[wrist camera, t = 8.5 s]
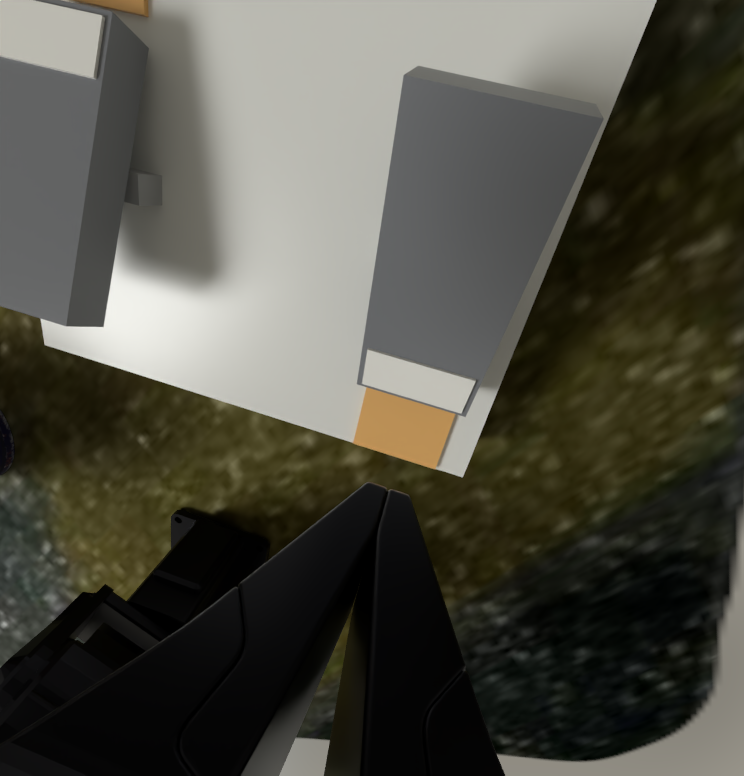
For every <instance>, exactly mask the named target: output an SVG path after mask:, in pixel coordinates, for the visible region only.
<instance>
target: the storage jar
mask: <svg viewBox="0 0 744 776" xmlns="http://www.w3.org/2000/svg"><path fill="white" fill-rule="evenodd" d="M14 452H15V450H14V441H13V437H12V433H11V430H10V428H9V425H8V423H7V421H6V419H5V417H4V415H3V413H2V411H1V410H0V475H2V474H3V473H5V472H6V471H7V470H8V469H9V468H10V466H11V465H12V462H13V459H14Z"/></svg>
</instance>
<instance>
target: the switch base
mask: <svg viewBox="0 0 744 776" xmlns="http://www.w3.org/2000/svg"><path fill="white" fill-rule="evenodd" d="M62 1H66V2H71V3H75V4H80V5H85V6H89V7H94V8H98V9H103V10H107V11H112V12H113V13H114V14H115V15H116V16H117V17H118V18H119V19H120V20H121V21H122V22H123V23H124V24H125V25H126V26H127V27H128V28H129V29H130V30H131V31H132V32H133V33H134V34H135V35H136V36H137V37H138V38H139V39H140V40H141V41H142V42H143V43H144V44H145V45H146V46H147V47H148V48H149V51H148V58H147V64H146V70H145V76H144V82H143V88H142V94H141V100H140V107H139V113H138V119H137V125H136V131H135V137H134V143H133V149H132V156H131V162H130V168H129V174H128V180H127V186H126V192H125V198H124V205H123V211H122V217H121V223H120V229H119V235H118V241H117V247H116V254H115V260H114V266H113V272H112V278H111V284H110V290H109V296H108V303H107V309H106V315H105V321H104V327H70V326H63V325H60V324H57V323H53V322H50V321H47V320H44V319H41V325H42V331H43V338H44V344H45V345H46V346H50V347H53V348H56V349H59V350H62V351H65V352H69V353H72V354H75V355H78V356H81V357H84V358H87V359H91V360H94V361H97V362H100V363H103V364H106V365H110V366H113V367H116V368H119V369H122V370H125V371H129V372H132V373H135V374H138V375H141V376H144V377H147V378H151V379H154V380H157V381H160V382H163V383H166V384H170V385H173V386H176V387H179V388H182V389H185V390H188V391H192V392H195V393H198V394H201V395H204V396H207V397H211V398H214V399H217V400H220V401H223V402H226V403H230V404H233V405H236V406H239V407H242V408H245V409H248V410H252V411H255V412H258V413H261V414H264V415H267V416H271V417H274V418H277V419H280V420H283V421H286V422H289V423H293V424H296V425H299V426H302V427H305V428H308V429H312V430H315V431H318V432H321V433H324V434H327V435H330V436H334V437H337V438H340V439H343V440H346V441H349V442H353V444H356V445H360V446H363V447H366V448H369V449H372V450H375V451H378V452H382V453H385V454H388V455H391V456H394V457H397V458H401V459H404V460H407V461H410V462H413V463H416V464H419V465H423V466H426V467H429V468H432V469H438V470H441V471H444V472H447V473H450V474H454V475H457V476H460V477H463V476H464V473H465V471H466V468H467V466H468V463H469V461H470V458H471V456H472V453H473V451H474V449H475V446H476V444H477V441H478V439H479V436H480V434H481V431H482V429H483V426H484V424H485V422H486V419H487V417H488V414H489V412H490V409H491V407H492V404H493V402H494V399H495V397H496V394H497V392H498V390H499V387H500V385H501V382H502V380H503V377H504V375H505V372H506V370H507V367H508V365H509V362H510V360H511V358H512V355H513V353H514V350H515V348H516V345H517V343H518V340H519V338H520V335H521V333H522V331H523V328H524V326H525V323H526V321H527V318H528V316H529V313H530V311H531V308H532V306H533V303H534V301H535V299H536V296H537V294H538V291H539V289H540V286H541V284H542V281H543V279H544V276H545V274H546V271H547V269H548V267H549V264H550V262H551V259H552V257H553V254H554V252H555V249H556V247H557V244H558V242H559V240H560V237H561V235H562V232H563V230H564V227H565V225H566V222H567V220H568V217H569V215H570V212H571V210H572V208H573V205H574V203H575V200H576V198H577V195H578V193H579V190H580V188H581V185H582V183H583V180H584V178H585V176H586V173H587V171H588V168H589V166H590V163H591V161H592V158H593V156H594V153H595V151H596V149H597V146H598V144H599V141H600V139H601V136H602V134H603V131H604V129H605V126H606V124H607V121H608V119H609V117H610V114H611V112H612V109H613V107H614V104H615V102H616V99H617V97H618V94H619V92H620V89H621V87H622V85H623V82H624V80H625V77H626V75H627V72H628V70H629V67H630V65H631V62H632V60H633V58H634V55H635V53H636V50H637V48H638V45H639V43H640V40H641V38H642V35H643V33H644V30H645V28H646V26H647V23H648V21H649V18H650V16H651V13H652V11H653V8H654V6H655V3H656V1H657V0H62ZM417 66H422V67H427V68H432V69H436V70H441V71H445V72H450V73H455V74H459V75H464V76H469V77H473V78H478V79H482V80H487V81H492V82H496V83H501V84H506V85H510V86H515V87H519V88H524V89H529V90H533V91H538V92H543V93H547V94H552V95H556V96H561V97H566V98H570V99H575V100H580V101H584V102H589V103H593V104H596V105H597V107H598V109H599V111H600V113H601V114H602V116H603V118H604V120H603V122H602V124H601V126H600V128H599V130H598V133H597V135H596V137H595V139H594V141H593V143H592V146H591V148H590V150H589V152H588V154H587V156H586V158H585V161H584V163H583V165H582V167H581V169H580V171H579V174H578V176H577V178H576V180H575V182H574V184H573V186H572V189H571V191H570V193H569V195H568V197H567V199H566V202H565V204H564V206H563V208H562V210H561V212H560V215H559V217H558V219H557V221H556V223H555V225H554V227H553V230H552V232H551V234H550V236H549V238H548V240H547V243H546V245H545V247H544V249H543V251H542V253H541V255H540V258H539V260H538V262H537V264H536V266H535V268H534V271H533V273H532V275H531V277H530V279H529V281H528V284H527V286H526V288H525V290H524V292H523V294H522V296H521V299H520V301H519V303H518V305H517V307H516V309H515V312H514V314H513V316H512V318H511V320H510V322H509V324H508V327H507V329H506V331H505V333H504V335H503V337H502V340H501V342H500V344H499V346H498V348H497V350H496V353H495V355H494V357H493V359H492V361H491V363H490V365H489V368H488V370H487V372H486V374H485V376H484V378H483V381H482V383H481V385H480V387H479V389H478V391H477V393H476V396H475V398H474V400H473V402H472V404H471V406H470V409H469V411H468V413H467V415H466V417H464V416H460V415H457V414H454V413H450V412H447V411H444V410H440V409H437V408H434V407H430V406H427V405H424V404H420V403H417V402H414V401H411V400H407V399H404V398H401V397H397V396H394V395H391V394H387V393H384V392H381V391H377V390H374V389H371V388H367V387H364V386H361V385H357V379H358V373H359V366H360V359H361V353H362V346H363V340H364V333H365V326H366V320H367V313H368V307H369V300H370V293H371V287H372V280H373V274H374V267H375V260H376V254H377V247H378V241H379V234H380V228H381V221H382V214H383V208H384V201H385V195H386V188H387V181H388V175H389V168H390V162H391V155H392V148H393V142H394V135H395V129H396V122H397V115H398V109H399V102H400V96H401V89H402V83H403V76H404V74H406V73H407V72H409V71H411V70H412V69H414V68H415V67H417Z"/></svg>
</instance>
